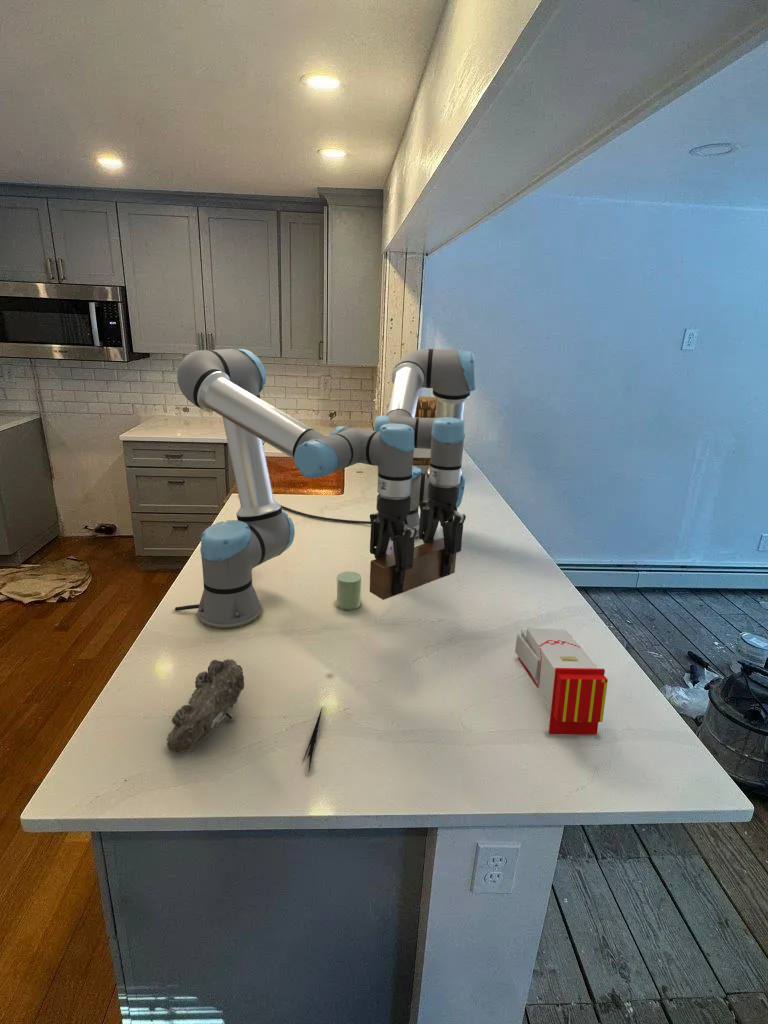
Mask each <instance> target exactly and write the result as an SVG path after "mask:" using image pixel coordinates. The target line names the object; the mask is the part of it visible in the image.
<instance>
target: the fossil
mask: <svg viewBox="0 0 768 1024" xmlns="http://www.w3.org/2000/svg"><path fill="white" fill-rule="evenodd" d="M243 670H244V669H243V667H242V665H240V664H237V662H236V661H235V660H234V659H232V658H231V659H227V658H226V659H224V660H223V661H222V660H217V659H212V660H211V661H210V663H209V665H208V666H207V671H201V672H199V673H198V674H197V675H196V676H195V680H194V684H195V685H194V687H195V689H194V690H193V693H192V694H191V697H190V698H189V700H188V704H184V705H182V706H181V707H180V709H177V710H176V711H175V713H174V715H173V716H172V718H171V723H172V724H173V727H172V730H171V731H170V732H168V734H167V738H166V741H167V742H166V745H167V749H168V750H169V751H173V752H174V753H176V754H178V753H182V752H188V751H189V752H192V751H193V750H195V748H196V747H197V746H199V744H200V743H201V742H203V741H204V740H205V739H206V738H207V737H208V736H209V735H210V734H211V733H212V732H214V730H215V729H217V727H218V726H219V724H220V722H221V721H222V720H223V719H224V718H225V716H226V717H227V719H229V720H233V717H232V715H230V714H229V710H230V709H231V708H234V706H235V704H236V703H237V702H238V699H239V697H240V695H241V693H242V691H243V690H245V689H244V688H245V675H244V671H243Z"/></svg>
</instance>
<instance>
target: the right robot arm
mask: <svg viewBox="0 0 768 1024" xmlns="http://www.w3.org/2000/svg"><path fill="white" fill-rule="evenodd" d="M475 363H476V362H475V355H474V353H473V352H472V351H469V350H461V349H443V348H441V349H440V348H419V349H416V350H415V349H414V350H413V351H410V352H409V353H407V354H405V355H404V356H403V357H401V358H400V359H399V360H398V361H397V363H396V364H395V365H394V367H393V370H392V374H391V382H392V384H393V385H392V388H391V392H390V396H389V400H388V403H389V404H387V405H388V408H387V407H386V413H385V414H383V415H378V416H376V418H375V420H374V425H373V431H377V432H379V431H380V427H381V426H382V425H384V424H390V423H395V424H405V425H408V426H410V427H412V428H413V430H414V446H415V448H423V449H431V458H430V466H428V468H427V472H422V469H421V468H420V467H419V466H418V467H417V466H413V467H412V488H411V495H409V496H410V497H411V503H410V512H409V513H408V515H407V521H408V525H409V526H410V527H411V528H412V529H413V528H416V530H417V533H416V536H415V539H419V540H421V541H423V544H425V543H428V542H431V541H434V540H435V536H436V533H437V529H438V528H439V527H438V526H439V523H440V527H441V528H442V538H444V547H445V552H443V553H442V562H441V574H440V577H442V578H445V577H448V576H450V575H451V574H450V568H451V565H452V564H453V556H454V554H455V553H456V554H458V553H460V552H461V551H462V544H463V533H464V532H463V531H464V524H465V521H466V519H467V516H466V514H464V513H463V514H462V513H460V512H458V508H460V506H461V504H462V502H463V501H462V500H463V497H464V493H465V487H466V476H465V475H463V472H462V462H463V452H464V443H465V437H466V423H465V421H463V419H464V408H465V401H466V400H468V399H469V398H470V396H471V392H474V391H475V390H476V364H475ZM421 388H423V389H424V388H425V389H432V396H433V397H436V399H437V406H436V419H426V418H415V412H416V406H417V399H418V397H419V394H420V390H421ZM280 505H281V504H280ZM281 509H282V510H286V511H288V512H291V513H293V514H297V515H299V516H304V517H307V518H312V519H316V520H323V521H329V522H336V523H337V522H339V523H347V524H361V525H371V521H368V520H353V519H342V518H333V517H326V516H319V515H313V514H310V513H306V512H301V511H299V510H295V509H293V508H290V507H287V506H285V505H281ZM398 536H399V535H398ZM442 578H441V579H442Z"/></svg>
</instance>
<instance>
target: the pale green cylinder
mask: <svg viewBox="0 0 768 1024" xmlns="http://www.w3.org/2000/svg"><path fill="white" fill-rule="evenodd" d="M361 599H362V575H361V574H360V573H358V572H355V571H342V572H340V573H338V574H337V576H336V606H337V607H338V608H340V609H342V610H348V611H349V610H355V609H357V608H359V607H360V606H361Z"/></svg>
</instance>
